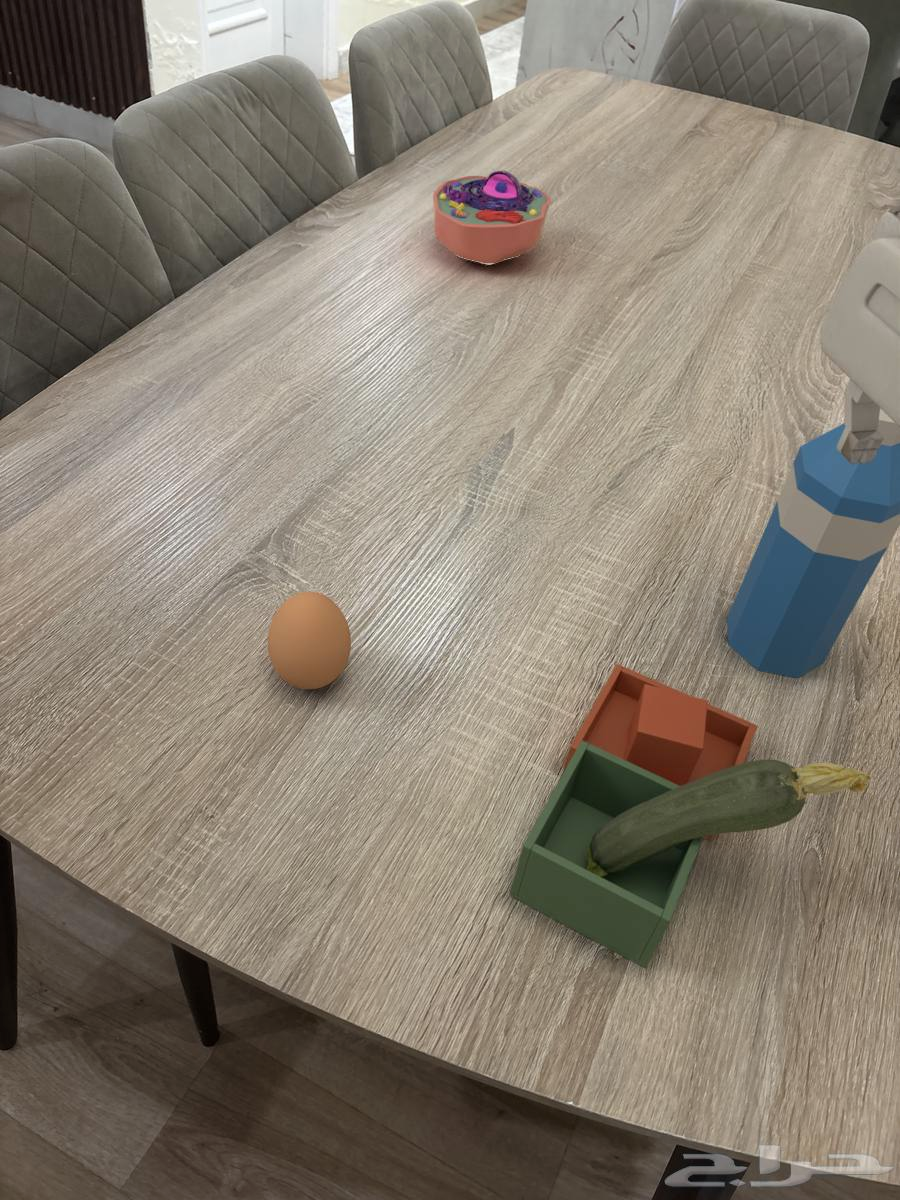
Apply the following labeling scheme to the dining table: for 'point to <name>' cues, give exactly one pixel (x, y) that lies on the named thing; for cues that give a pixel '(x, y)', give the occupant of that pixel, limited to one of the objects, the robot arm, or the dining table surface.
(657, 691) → the terracotta block
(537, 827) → the produce bin
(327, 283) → the dining table surface
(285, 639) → the egg
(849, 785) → the vegetable
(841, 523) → the water bottle
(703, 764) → the terracotta tray
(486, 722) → the dining table surface
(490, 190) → the cell model
